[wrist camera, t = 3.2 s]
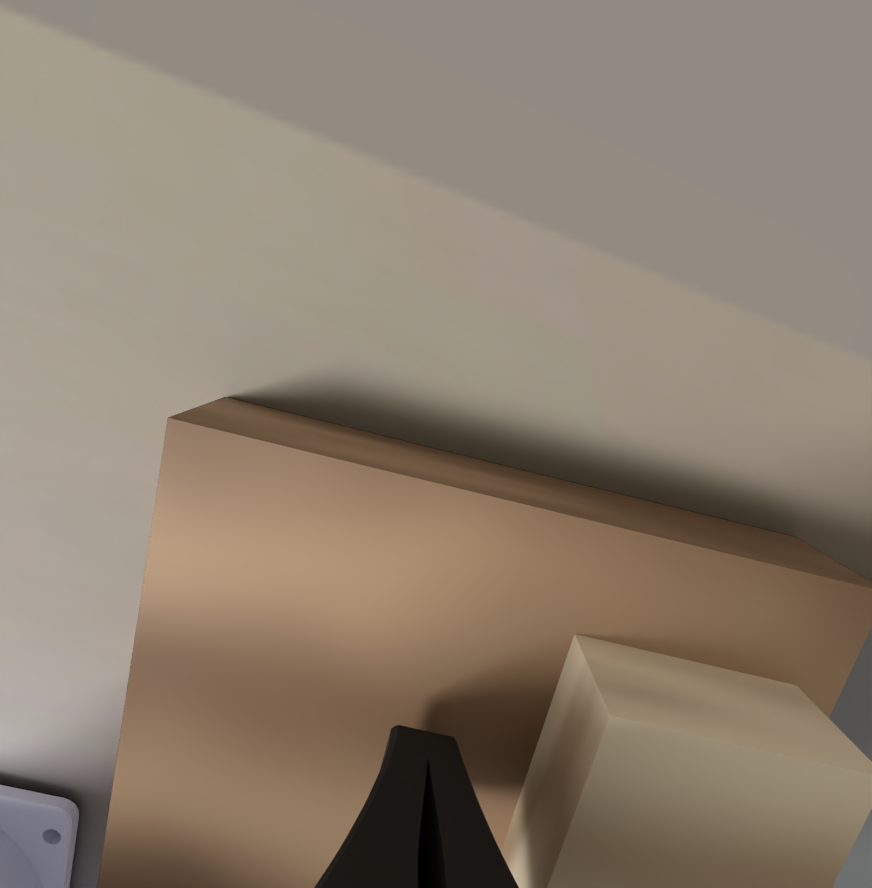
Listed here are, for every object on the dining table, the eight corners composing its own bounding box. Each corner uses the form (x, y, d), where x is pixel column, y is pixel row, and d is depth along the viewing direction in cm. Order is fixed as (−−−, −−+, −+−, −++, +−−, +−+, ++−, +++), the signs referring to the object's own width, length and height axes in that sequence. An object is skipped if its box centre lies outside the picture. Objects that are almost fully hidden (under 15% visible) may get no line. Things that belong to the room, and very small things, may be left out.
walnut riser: (647, 896, 17) (690, 1015, 14) (157, 794, 16) (95, 898, 13) (796, 537, 15) (887, 592, 12) (225, 397, 14) (167, 417, 11)
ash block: (686, 932, 14) (741, 1067, 11) (487, 891, 13) (498, 1020, 11) (796, 684, 12) (887, 778, 10) (574, 633, 12) (610, 715, 9)
